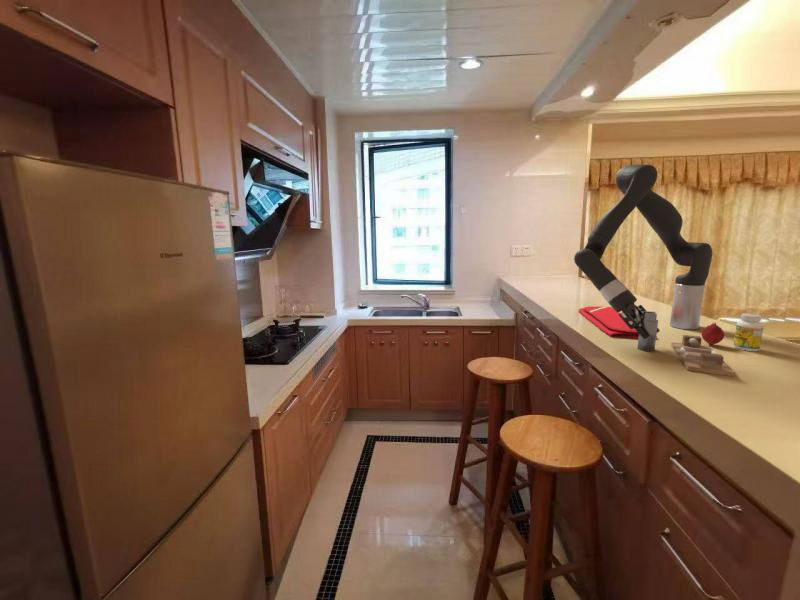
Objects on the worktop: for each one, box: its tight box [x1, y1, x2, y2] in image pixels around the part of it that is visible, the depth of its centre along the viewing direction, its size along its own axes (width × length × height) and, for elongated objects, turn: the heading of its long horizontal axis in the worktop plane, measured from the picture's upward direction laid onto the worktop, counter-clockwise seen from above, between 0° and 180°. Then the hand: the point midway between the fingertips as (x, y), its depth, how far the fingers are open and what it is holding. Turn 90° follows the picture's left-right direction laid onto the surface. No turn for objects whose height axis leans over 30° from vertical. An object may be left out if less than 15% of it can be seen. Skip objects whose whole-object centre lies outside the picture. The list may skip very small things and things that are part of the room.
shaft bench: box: [670, 334, 736, 377], centre depth 111 cm, size 24×10×5 cm, turn 153°
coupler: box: [637, 310, 659, 352], centre depth 120 cm, size 5×5×12 cm
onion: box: [700, 321, 725, 346], centre depth 123 cm, size 6×6×8 cm
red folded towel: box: [578, 306, 658, 339], centre depth 153 cm, size 16×41×4 cm, turn 170°
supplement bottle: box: [733, 312, 764, 352], centre depth 119 cm, size 6×6×11 cm
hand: (652, 335), depth 119 cm, fingers open, 7 cm apart
